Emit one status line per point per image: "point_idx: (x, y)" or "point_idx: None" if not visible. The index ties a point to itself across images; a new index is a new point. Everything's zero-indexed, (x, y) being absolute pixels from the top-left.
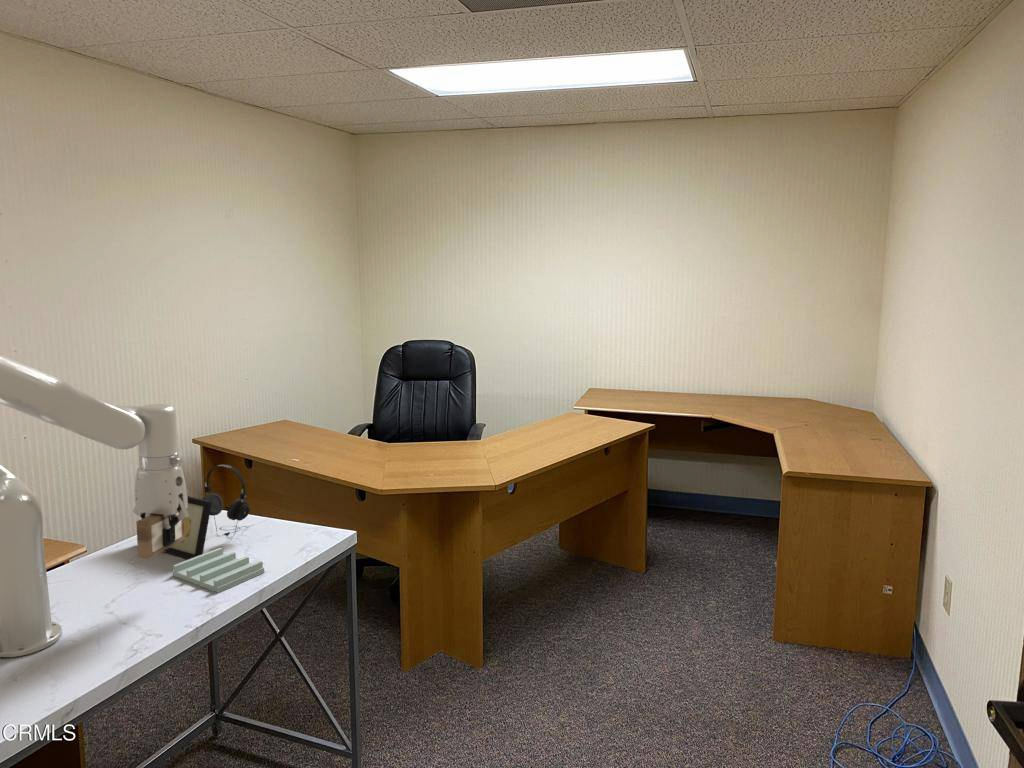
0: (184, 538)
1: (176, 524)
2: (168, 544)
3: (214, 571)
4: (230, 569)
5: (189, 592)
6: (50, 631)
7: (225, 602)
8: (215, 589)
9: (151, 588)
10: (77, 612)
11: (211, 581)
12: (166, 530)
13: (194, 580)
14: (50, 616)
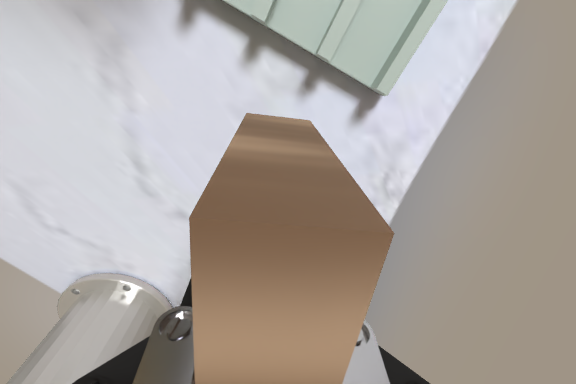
0: (309, 122)
1: (364, 327)
2: None
3: (354, 11)
4: None
5: (300, 100)
6: (151, 314)
7: (413, 144)
8: (372, 89)
9: (180, 86)
10: (109, 221)
11: (351, 52)
12: None
13: (288, 39)
14: (133, 330)
